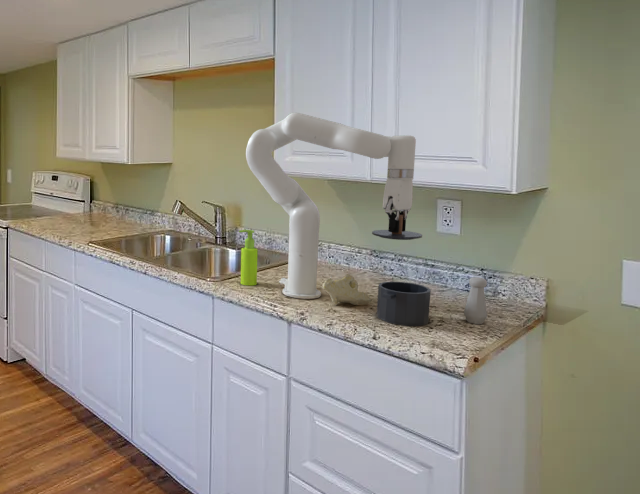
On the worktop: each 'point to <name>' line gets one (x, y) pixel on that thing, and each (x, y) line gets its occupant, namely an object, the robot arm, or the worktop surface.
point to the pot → (403, 303)
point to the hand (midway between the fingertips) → (396, 231)
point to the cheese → (345, 291)
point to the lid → (398, 236)
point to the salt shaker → (476, 301)
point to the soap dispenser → (249, 261)
